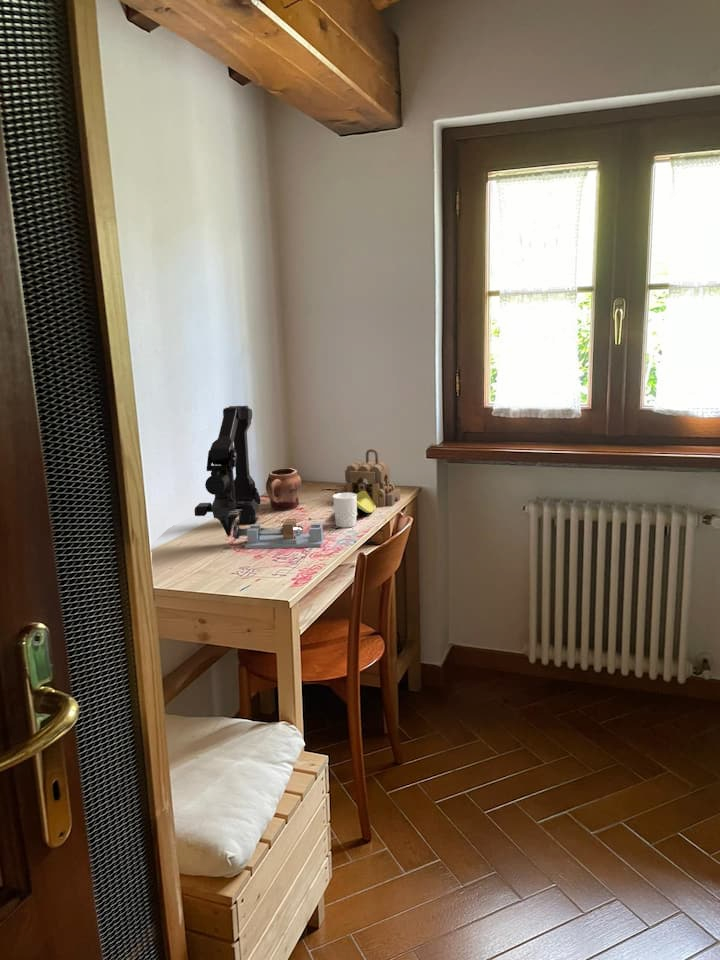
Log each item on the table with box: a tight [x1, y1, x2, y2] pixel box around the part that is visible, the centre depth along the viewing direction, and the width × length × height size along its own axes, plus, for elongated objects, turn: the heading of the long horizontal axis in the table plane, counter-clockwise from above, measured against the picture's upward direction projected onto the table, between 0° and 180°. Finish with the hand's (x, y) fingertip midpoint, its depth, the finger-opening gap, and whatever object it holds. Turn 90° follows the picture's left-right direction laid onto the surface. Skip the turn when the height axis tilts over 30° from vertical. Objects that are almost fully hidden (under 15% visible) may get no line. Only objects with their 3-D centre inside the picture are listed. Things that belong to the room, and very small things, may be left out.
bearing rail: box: [244, 522, 325, 549], centre depth 225 cm, size 10×23×5 cm, turn 86°
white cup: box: [332, 493, 358, 528], centre depth 240 cm, size 8×8×10 cm
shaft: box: [232, 525, 303, 540], centre depth 225 cm, size 4×21×4 cm, turn 86°
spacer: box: [282, 518, 297, 540], centre depth 224 cm, size 7×3×6 cm, turn 176°
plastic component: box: [357, 491, 377, 516], centre depth 253 cm, size 20×7×10 cm
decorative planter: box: [265, 467, 302, 511], centre depth 263 cm, size 20×12×14 cm, turn 168°
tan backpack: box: [334, 448, 401, 508], centre depth 268 cm, size 22×15×19 cm, turn 69°
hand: (228, 535), depth 226 cm, fingers closed
